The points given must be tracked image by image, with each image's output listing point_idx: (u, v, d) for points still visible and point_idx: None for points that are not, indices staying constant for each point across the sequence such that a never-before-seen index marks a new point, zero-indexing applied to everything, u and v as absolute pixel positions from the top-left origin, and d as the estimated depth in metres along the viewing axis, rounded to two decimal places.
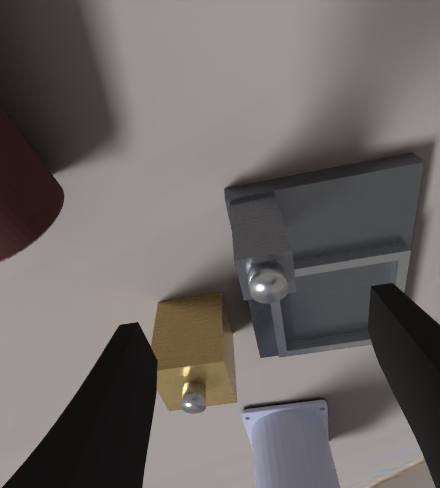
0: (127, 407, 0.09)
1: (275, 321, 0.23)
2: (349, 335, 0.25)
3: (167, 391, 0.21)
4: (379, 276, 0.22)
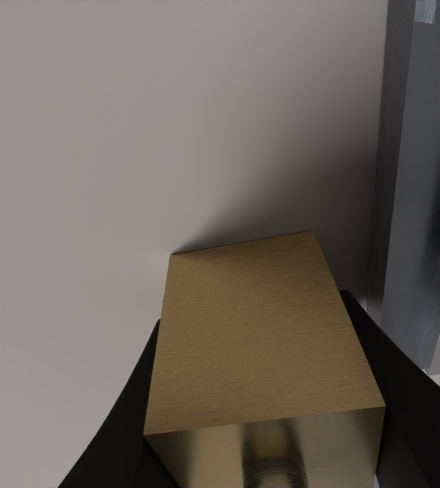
0: None
1: None
2: None
3: (199, 477, 0.08)
4: None
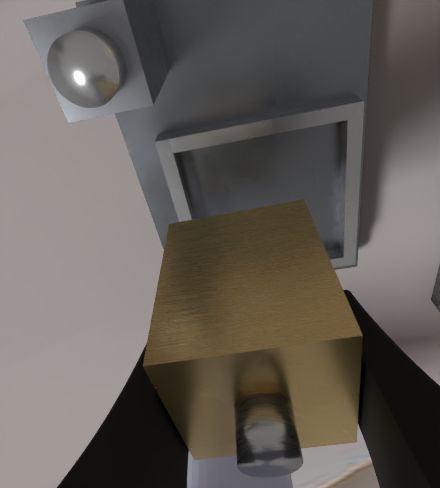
0: None
1: None
2: None
3: (194, 417, 0.09)
4: (325, 159, 0.15)
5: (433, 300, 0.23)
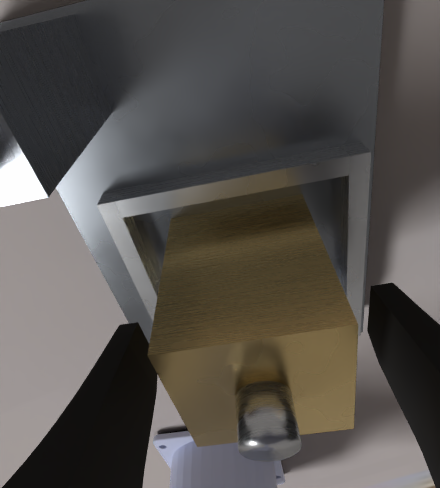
0: (128, 407, 0.09)
1: (146, 299, 0.13)
2: None
3: (197, 405, 0.09)
4: (321, 217, 0.12)
5: None
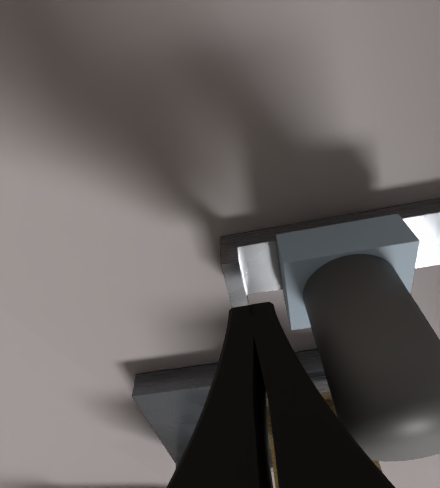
0: (259, 390, 0.09)
1: None
2: None
3: None
4: None
5: None
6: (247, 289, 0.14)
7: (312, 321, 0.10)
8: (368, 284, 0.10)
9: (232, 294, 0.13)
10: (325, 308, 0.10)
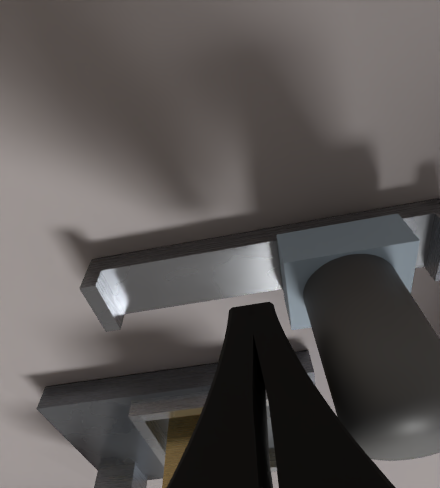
0: (259, 390, 0.09)
1: None
2: None
3: None
4: None
5: None
6: (122, 309, 0.14)
7: (312, 321, 0.10)
8: (368, 284, 0.10)
9: (99, 315, 0.13)
10: (325, 308, 0.10)
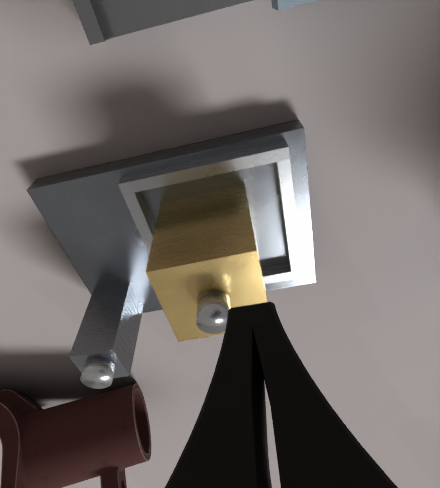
0: (258, 390, 0.09)
1: None
2: (280, 201, 0.18)
3: None
4: (176, 188, 0.18)
5: None
6: (107, 30, 0.14)
7: None
8: None
9: (82, 16, 0.13)
10: None
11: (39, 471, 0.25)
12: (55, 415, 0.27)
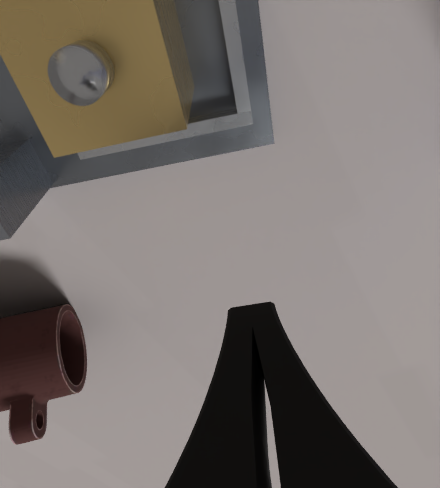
0: (257, 390, 0.09)
1: (166, 138, 0.16)
2: None
3: (112, 126, 0.11)
4: None
5: None
6: None
7: None
8: None
9: None
10: None
11: None
12: None
